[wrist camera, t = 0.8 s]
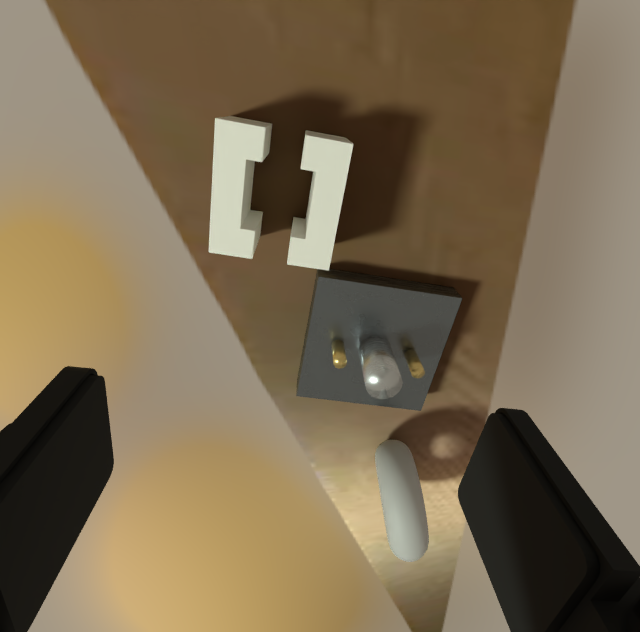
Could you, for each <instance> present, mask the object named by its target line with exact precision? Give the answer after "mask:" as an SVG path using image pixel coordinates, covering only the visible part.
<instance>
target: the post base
mask: <svg viewBox="0 0 640 632" xmlns="http://www.w3.org/2000/svg"><path fill="white" fill-rule="evenodd" d="M461 301H462V297H461V296H460V295H459V294H458V292H457V291H456V290H455V289H454V288H452V287H446V286H439V285H433V284H426V283H420V282H413V281H407V280H400V279H394V278H387V277H381V276H374V275H368V274H361V273H354V272H348V271H341V270H335V269H329V271H328V270H322V269H317V274H316V280H315V285H314V291H313V296H312V302H311V307H310V313H309V319H308V324H307V330H306V335H305V341H304V346H303V352H302V357H301V363H300V368H299V374H298V379H297V396H301V397H310V398H318V399H327V400H335V401H343V402H352V403H360V404H369V405H377V406H385V407H394V408H402V409H411V410H419V411H421V409H422V406H423V404H424V401H425V398H426V396H427V393H428V390H429V387H430V385H431V382H432V379H433V377H434V374H435V371H436V368H437V366H438V363H439V360H440V358H441V355H442V352H443V349H444V347H445V344H446V341H447V339H448V336H449V333H450V330H451V328H452V325H453V322H454V320H455V317H456V314H457V311H458V309H459V306H460V303H461Z"/></svg>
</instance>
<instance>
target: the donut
mask: <svg viewBox="0 0 640 632" xmlns="http://www.w3.org/2000/svg"><path fill="white" fill-rule="evenodd" d="M375 463H376V470H377V476H378V483H379V489H380V495H381V501H382V508H383V514H384V520H385V526H386V532H387V537H388V542H389V545H390V548H391V550H392V552H393V553H394V554H395V555H396V556H397V557H398V558H399V559H401V560H404V561H408V562H413V561H416V560H418V559H419V558H421V557H422V556H423V555H424V553H425V552H426V550H427V547H428V543H429V535H428V525H427V517H426V511H425V505H424V499H423V494H422V489H421V485H420V480H419V476H418V472H417V468H416V465H415V462H414V459H413V456H412V453H411V451H410V449H409V448H408V447H407V445H405V444H404V443H403V442H401V441H398V440H387V441H384V442H383V443H381V444H380V445H379V447H378V448H377V450H376V453H375Z"/></svg>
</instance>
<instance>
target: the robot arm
mask: <svg viewBox="0 0 640 632" xmlns="http://www.w3.org/2000/svg"><path fill="white" fill-rule="evenodd" d="M113 464H114V459H113V449H112V440H111V432H110V423H109V414H108V406H107V396H106V388H105V381H104V378H103V376H98V375H97V372H96V371H95V369H91V368H80V367H70V366H68V367H65V368H64V369H62V370H61V371H60V372H59V374H58V375H57V376H56V377H55V378H54V379H53V380H52V381H51V382H50V383H49V384H48V385H47V386H46V387H45V388H44V390H43V391H42V392H41V393H40V394H39V395H38V396H37V397H36V398H35V399H34V400H33V401H32V402H31V403H30V404H29V406H28V407H27V408H26V409H25V410H24V411H23V412H22V413H21V414H20V415H19V416H18V417H17V419H15V420H14V422H13V423H11V424H9V425H7V426H6V427H5V428H4V429H3V430H1V431H0V632H27V631H28V629H29V628H30V626H31V624H32V623H33V621H34V619H35V617H36V615H37V613H38V611H39V609H40V608H41V606H42V604H43V602H44V600H45V598H46V596H47V594H48V592H49V591H50V589H51V587H52V585H53V583H54V581H55V579H56V577H57V576H58V573H59V572H60V570H61V568H62V566H63V564H64V562H65V561H66V559H67V557H68V555H69V553H70V551H71V549H72V547H73V545H74V543H75V542H76V540H77V538H78V536H79V534H80V532H81V530H82V528H83V527H84V525H85V523H86V521H87V519H88V517H89V515H90V513H91V512H92V510H93V508H94V506H95V504H96V502H97V500H98V498H99V497H100V495H101V493H102V491H103V489H104V487H105V485H106V483H107V482H108V480H109V478H110V475H111V473H112V470H113ZM458 498H459V502H460V505H461V507H462V510H463V512H464V515H465V517H466V520H467V522H468V525H469V527H470V530H471V532H472V535H473V537H474V540H475V542H476V545H477V548H478V550H479V553H480V555H481V558H482V560H483V563H484V565H485V568H486V570H487V573H488V575H489V578H490V580H491V583H492V585H493V588H494V590H495V593H496V596H497V598H498V601H499V603H500V606H501V608H502V611H503V613H504V616H505V618H506V621H507V623H508V626H509V628H510V631H511V632H640V566H639V565H638V563H637V562H636V561H635V559H634V558H633V557H632V555H631V554H630V553H629V551H628V550H627V548H626V547H625V546H624V544H623V543H622V542H621V540H620V539H619V537H617V535H616V533H615V532H614V531H613V529H612V528H611V527H610V525H609V524H608V523H607V521H606V520H605V519H604V517H603V516H602V514H601V513H600V512H599V510H598V509H597V508H596V507H595V505H594V504H593V502H592V501H591V499H590V498H589V497H588V496H587V494H586V493H585V491H584V490H583V489H582V487H581V486H580V485H579V483H578V482H577V481H576V479H575V478H574V476H573V475H572V474H571V472H570V471H569V470H568V468H567V467H566V466H565V464H564V463H563V461H562V460H561V459H560V457H559V456H558V455H557V453H556V452H555V451H554V449H553V448H552V446H551V445H550V444H549V443H548V441H547V440H546V438H545V437H544V436H543V434H542V433H541V432H540V430H539V429H538V428H537V426H536V425H535V423H534V422H533V421H532V419H531V418H530V417H529V415H528V414H527V413H526V412H525V411H523V410H517V409H506V408H499V409H498V410H496V412H495V413H492V414H490V415H489V417H488V419H487V422H486V424H485V426H484V429H483V431H482V433H481V436H480V438H479V440H478V443H477V445H476V447H475V450H474V452H473V455H472V457H471V459H470V462H469V464H468V466H467V469H466V471H465V473H464V476H463V478H462V480H461V483H460V485H459V488H458Z"/></svg>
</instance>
